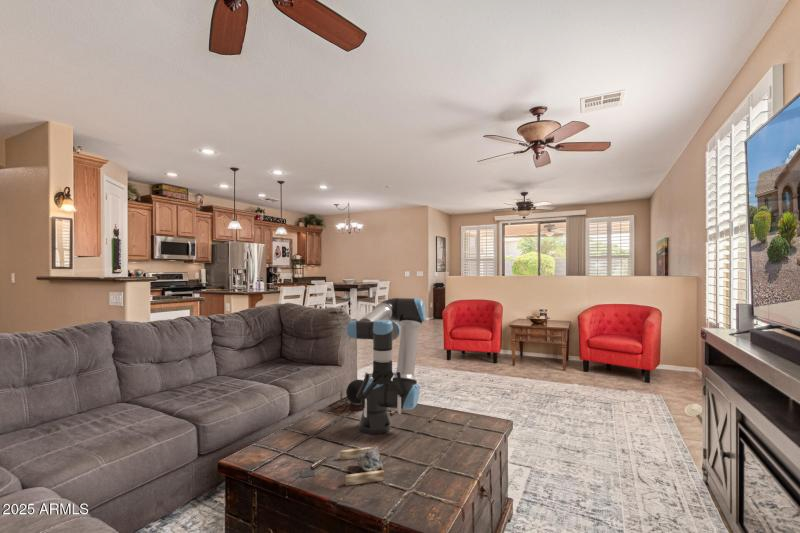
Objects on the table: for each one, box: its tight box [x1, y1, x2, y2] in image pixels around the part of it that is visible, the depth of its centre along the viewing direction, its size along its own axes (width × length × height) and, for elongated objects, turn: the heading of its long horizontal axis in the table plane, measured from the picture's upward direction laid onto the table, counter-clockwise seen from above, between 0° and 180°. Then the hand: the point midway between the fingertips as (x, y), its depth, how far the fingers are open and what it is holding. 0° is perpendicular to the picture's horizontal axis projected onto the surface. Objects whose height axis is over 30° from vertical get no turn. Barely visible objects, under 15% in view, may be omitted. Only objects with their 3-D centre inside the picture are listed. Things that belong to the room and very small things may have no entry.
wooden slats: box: [339, 446, 386, 487], centre depth 146 cm, size 14×20×3 cm
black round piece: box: [345, 379, 364, 412], centre depth 209 cm, size 13×13×15 cm
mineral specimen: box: [354, 446, 384, 472], centre depth 147 cm, size 10×8×10 cm
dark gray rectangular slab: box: [300, 469, 315, 479], centre depth 142 cm, size 5×4×1 cm
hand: (382, 414), depth 149 cm, fingers open, 13 cm apart
